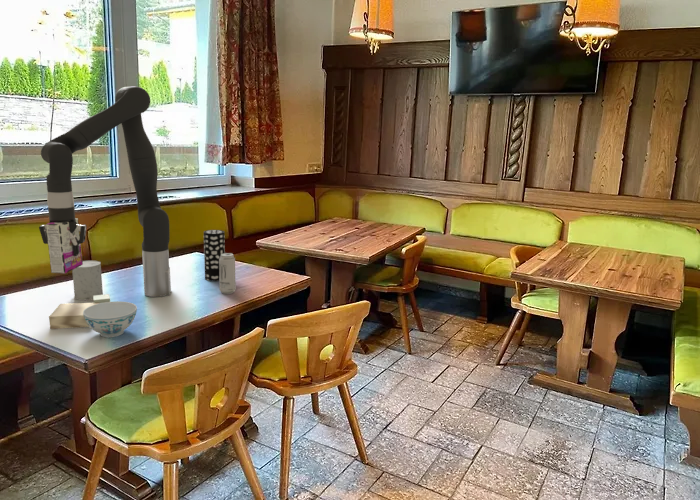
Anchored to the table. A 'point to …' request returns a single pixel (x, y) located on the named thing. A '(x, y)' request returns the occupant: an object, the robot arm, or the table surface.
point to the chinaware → (110, 317)
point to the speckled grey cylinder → (87, 280)
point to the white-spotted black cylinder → (213, 253)
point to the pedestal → (69, 316)
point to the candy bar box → (62, 247)
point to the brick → (101, 298)
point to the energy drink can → (227, 273)
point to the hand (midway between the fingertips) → (65, 255)
